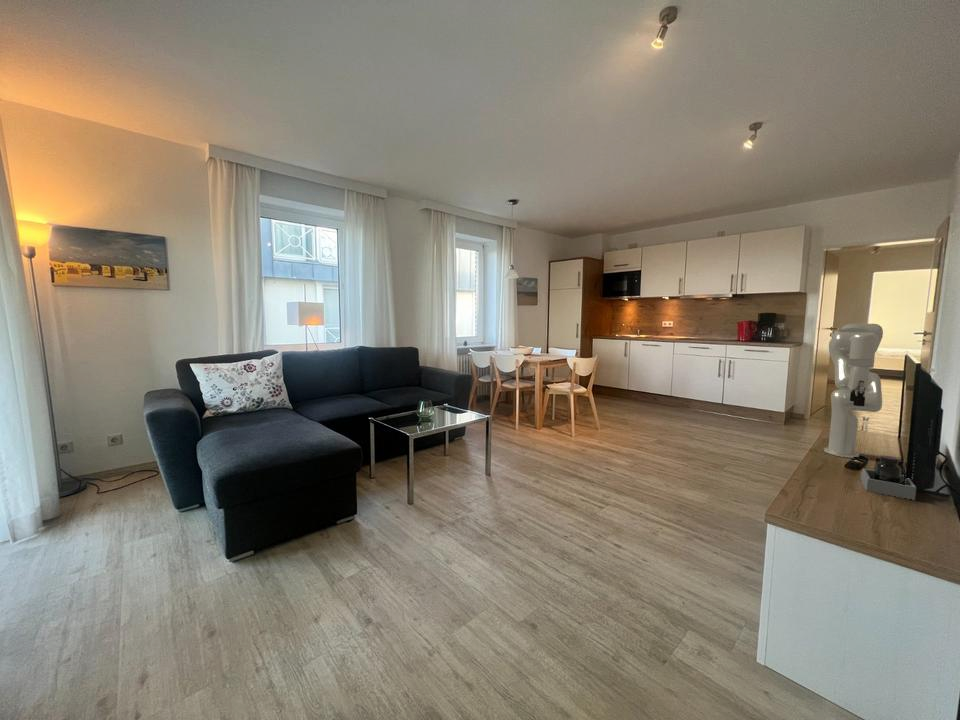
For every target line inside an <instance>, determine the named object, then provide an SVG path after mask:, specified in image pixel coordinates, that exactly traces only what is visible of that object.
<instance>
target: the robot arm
mask: <svg viewBox="0 0 960 720" xmlns="http://www.w3.org/2000/svg"><path fill="white" fill-rule="evenodd" d="M883 337H884V331H883V327H882V326H881V325H880V324H877V323H848V324H845V325H844V326H842V327H841V328H840V329H837V330H835V331H834V332H833V333H832V337H831V339H830V340H829V343H828V351H829V352H828V353H829V357H830V359H831V361H832V363H833V365H834V384H835V387H836V388H837V389H836V390H833V391H832V393H831V394H830V403H831V418H830V428H829V437H828V438H829V439H828V446H826V447H824V448H823V451H824V452H825V453H827V454H829V455H833V456H836V457H841V458H847V459H855V458H854V457H857V458H859V457H860V454H859V452H856V447H857V446H856V444H857V436H858V427H859V418H858V417H857V416H856V414H855V413H854V412H853V411H855V412H856V411H858V412H869V413H877V412H879V411H881V409H882V408H883V395H882V394H883V393H882V392H883V391H882V381H881V377H880V376H879V375H878V373H875V372H871V371H870V369H874V366H875V357H876V356H875V355H876V353H877V351H878V349H879V347H880V344H881V342H882V339H883Z"/></svg>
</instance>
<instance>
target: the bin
mask: <svg viewBox="0 0 960 720" xmlns="http://www.w3.org/2000/svg"><path fill="white" fill-rule="evenodd" d="M860 477H861V478H860V481H861V483H862V484H863V487H864V489H865V491H866V492H867V493H874V494H879V495H883V494H884V496H888V495H890V496H889V497H894V496H896V497H895V498H899V497H900V499H904V498H907V499H906V500H909V499H912V500H911V501H914V500H916V494H917V485H915V484H914V483H913V481H912V480H911V479H910V478H906V479H905V485H903V484H898V483H892V482H886V481H881V480H875V479H874V478H875V470H873V469H868V468H862V469H861V476H860ZM903 481H904V474H901V477H900V483H902V482H903Z"/></svg>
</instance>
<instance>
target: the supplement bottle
mask: <svg viewBox="0 0 960 720" xmlns="http://www.w3.org/2000/svg"><path fill="white" fill-rule="evenodd" d="M901 475H902V467H900V465H899V458H897V457H895V456H889V455H880V458H879V461H878V462H877V463H875V478H874V479H875V480H881V481H886V482H892V483H898V484H900V477H901Z"/></svg>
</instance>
